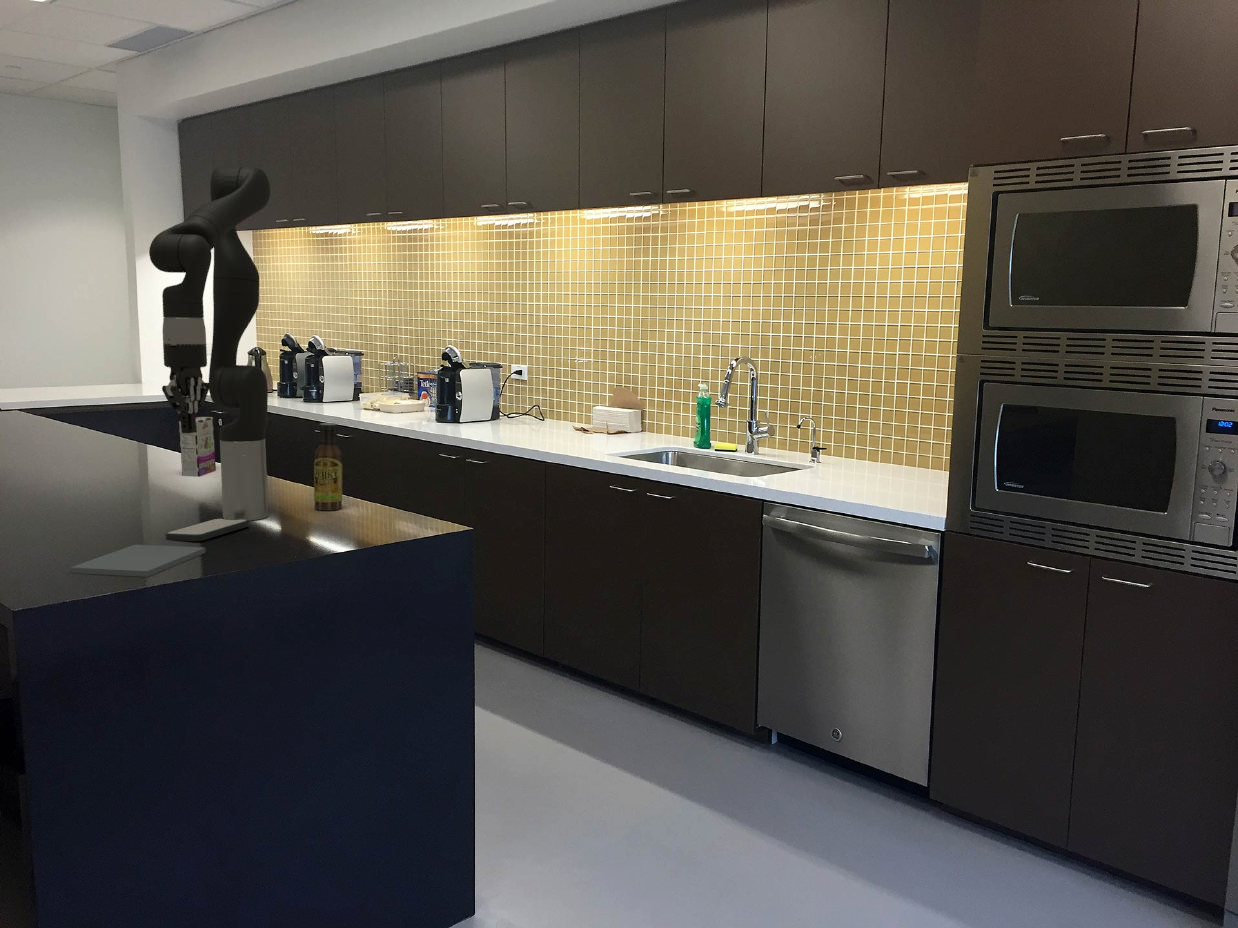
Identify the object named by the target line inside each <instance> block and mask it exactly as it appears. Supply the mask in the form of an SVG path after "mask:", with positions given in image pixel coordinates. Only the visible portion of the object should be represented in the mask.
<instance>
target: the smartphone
mask: <svg viewBox="0 0 1238 928" xmlns="http://www.w3.org/2000/svg"><path fill="white" fill-rule="evenodd" d="M249 526H250V520H240V519H223V518H215V519H211V520H208V521H207V520H206V521H203V522H200V523H196V524H193V525H189V526H187V527H182V528H178V529H176V530H172V531H168V532H166V533H165V540H167V541H178V542H179V541H180V542H181V541H183V542H184V541H185V542H202V541H206V540H208V539H213V538H215V537H219V536H221V535H225V534H229V533H232V532H235V531H239V530H241V529H245V528H247V527H248V528H249Z"/></svg>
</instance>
